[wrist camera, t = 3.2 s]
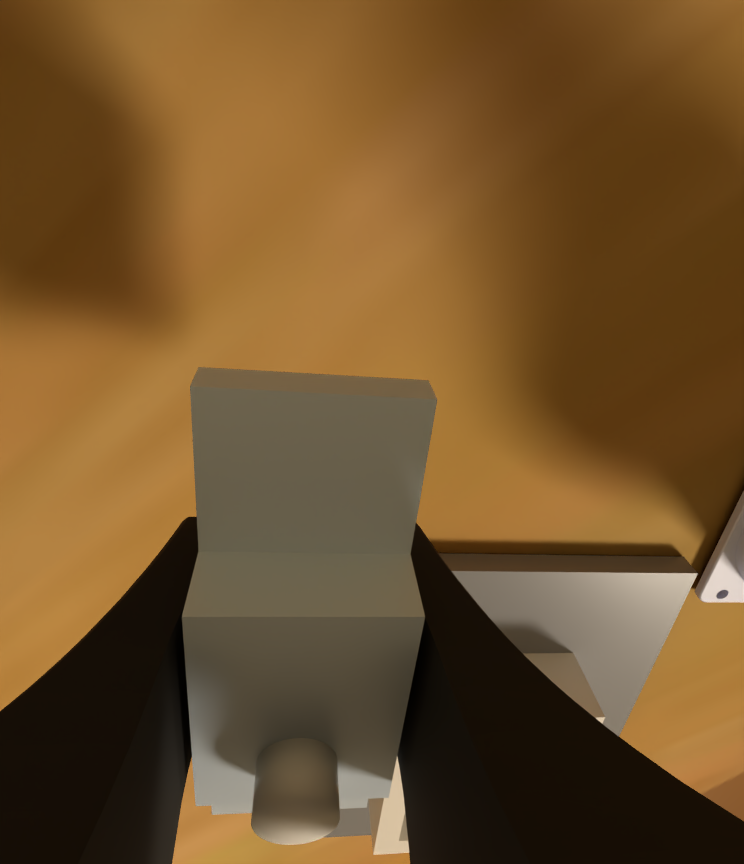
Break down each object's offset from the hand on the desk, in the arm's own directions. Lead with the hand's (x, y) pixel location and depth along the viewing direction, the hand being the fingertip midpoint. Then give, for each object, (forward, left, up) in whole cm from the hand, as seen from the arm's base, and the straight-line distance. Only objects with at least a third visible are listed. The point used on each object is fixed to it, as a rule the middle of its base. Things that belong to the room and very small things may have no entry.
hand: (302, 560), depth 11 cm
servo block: (0, 0, -2) cm, 2 cm away
